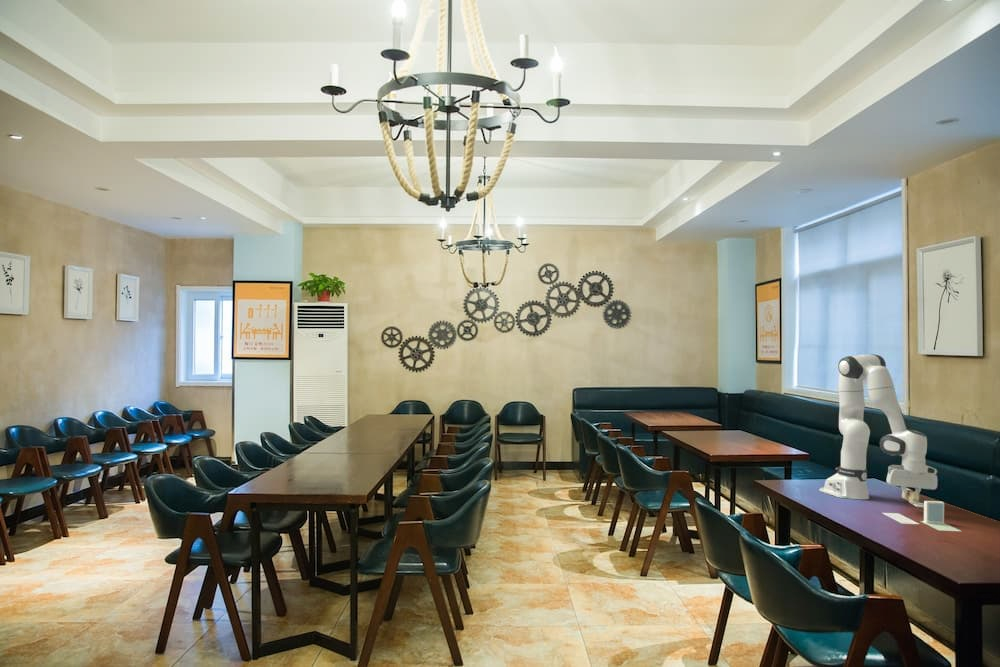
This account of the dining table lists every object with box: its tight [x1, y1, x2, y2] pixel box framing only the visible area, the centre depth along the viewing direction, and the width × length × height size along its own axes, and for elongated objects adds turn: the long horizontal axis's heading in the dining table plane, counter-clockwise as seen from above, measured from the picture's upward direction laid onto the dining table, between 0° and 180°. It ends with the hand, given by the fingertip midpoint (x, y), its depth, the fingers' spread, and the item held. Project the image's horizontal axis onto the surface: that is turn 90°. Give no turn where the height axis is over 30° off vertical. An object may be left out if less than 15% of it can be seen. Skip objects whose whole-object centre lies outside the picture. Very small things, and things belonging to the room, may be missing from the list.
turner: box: [901, 487, 924, 508], centre depth 278 cm, size 15×5×4 cm, turn 174°
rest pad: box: [882, 512, 921, 525], centre depth 270 cm, size 16×7×1 cm, turn 176°
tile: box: [923, 500, 945, 524], centre depth 265 cm, size 2×7×9 cm, turn 86°
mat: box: [920, 520, 961, 532], centre depth 260 cm, size 13×9×1 cm
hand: (910, 496), depth 281 cm, fingers closed on turner, 2 cm apart
